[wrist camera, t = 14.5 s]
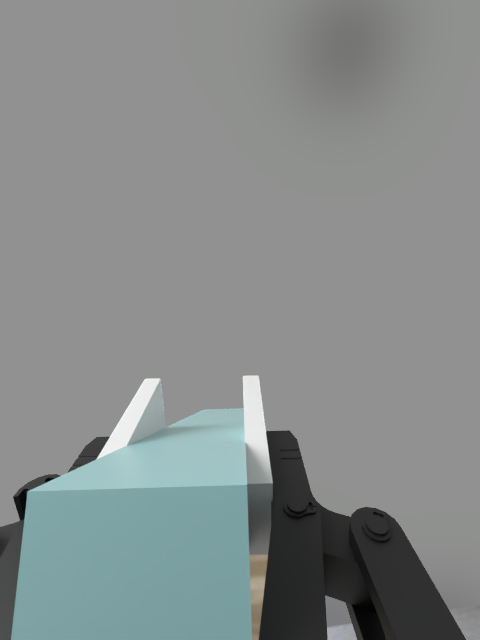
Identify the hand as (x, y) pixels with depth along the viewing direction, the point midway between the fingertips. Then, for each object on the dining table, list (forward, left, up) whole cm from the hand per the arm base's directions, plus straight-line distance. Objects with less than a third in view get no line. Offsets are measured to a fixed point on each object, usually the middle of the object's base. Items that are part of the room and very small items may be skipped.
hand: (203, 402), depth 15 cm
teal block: (-2, +2, -4) cm, 5 cm away
